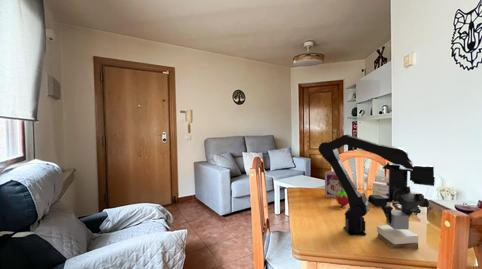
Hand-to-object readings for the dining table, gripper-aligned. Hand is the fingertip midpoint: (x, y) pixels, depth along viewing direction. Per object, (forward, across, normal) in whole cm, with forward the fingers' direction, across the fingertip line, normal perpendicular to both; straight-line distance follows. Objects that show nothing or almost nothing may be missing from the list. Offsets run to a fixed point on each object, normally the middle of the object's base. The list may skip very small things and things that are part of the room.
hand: (397, 223), depth 86 cm
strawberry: (+7, -6, +36) cm, 37 cm away
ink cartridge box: (+7, +16, +40) cm, 44 cm away
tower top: (+5, 0, 0) cm, 5 cm away
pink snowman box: (+7, -4, +54) cm, 55 cm away
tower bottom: (+8, 0, 0) cm, 8 cm away
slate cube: (+1, 0, 0) cm, 1 cm away
